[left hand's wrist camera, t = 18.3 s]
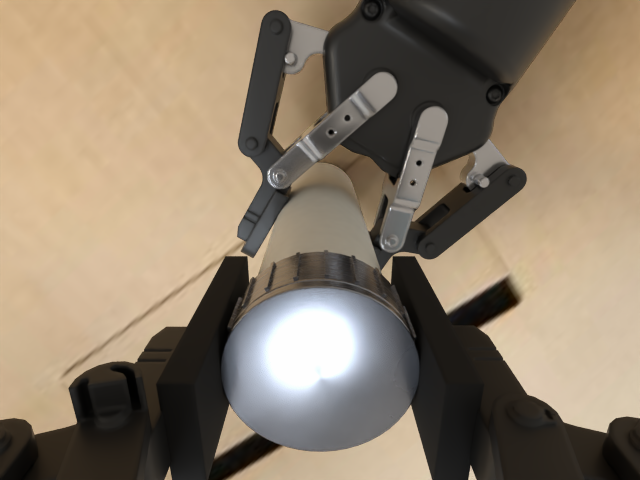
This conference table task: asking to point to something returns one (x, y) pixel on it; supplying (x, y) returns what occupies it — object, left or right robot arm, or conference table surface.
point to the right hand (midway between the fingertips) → (293, 271)
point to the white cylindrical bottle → (321, 219)
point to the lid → (320, 353)
